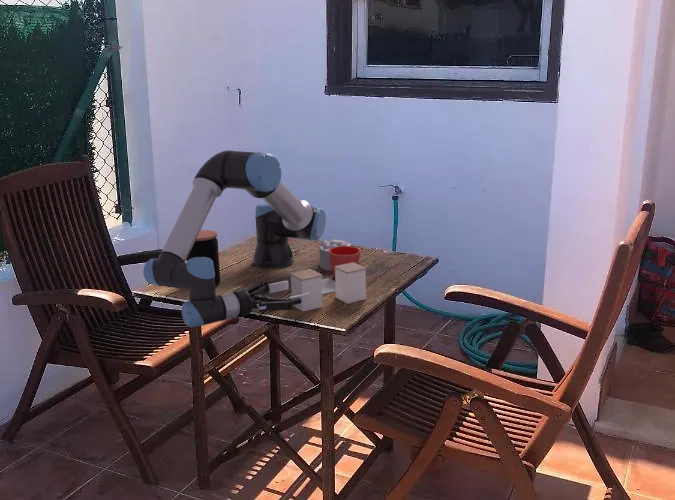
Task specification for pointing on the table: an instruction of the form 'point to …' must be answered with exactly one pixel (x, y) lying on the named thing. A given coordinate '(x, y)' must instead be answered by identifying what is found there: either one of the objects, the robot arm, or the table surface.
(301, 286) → the cover canister
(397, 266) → the table surface
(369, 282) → the table surface
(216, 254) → the coffee jar
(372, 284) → the table surface
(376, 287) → the table surface
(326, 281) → the felt mat
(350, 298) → the empty canister
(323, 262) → the lumpy-topped squat cylinder
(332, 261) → the flower pot
